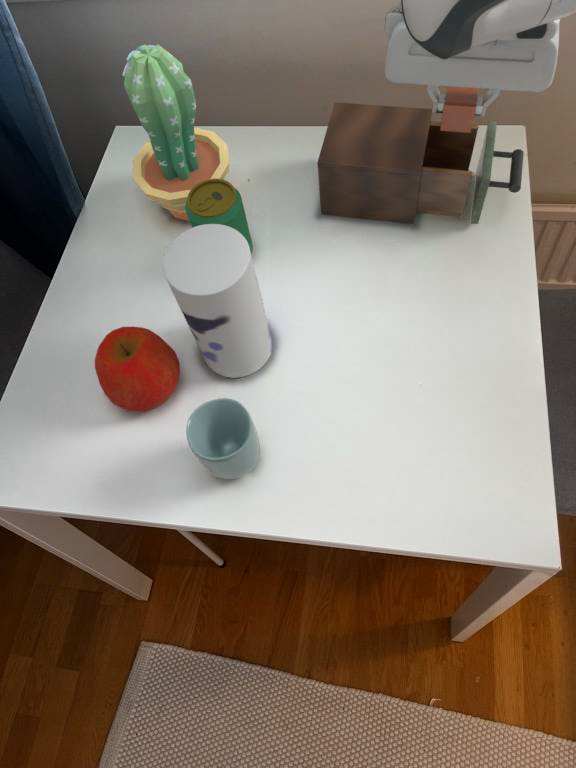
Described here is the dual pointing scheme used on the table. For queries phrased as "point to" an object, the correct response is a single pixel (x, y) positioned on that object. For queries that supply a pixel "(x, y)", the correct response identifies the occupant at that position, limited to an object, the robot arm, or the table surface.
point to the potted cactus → (170, 130)
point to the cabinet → (373, 162)
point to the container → (220, 298)
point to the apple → (136, 368)
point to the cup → (223, 438)
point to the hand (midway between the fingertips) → (459, 111)
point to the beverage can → (217, 206)
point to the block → (459, 109)
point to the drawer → (461, 171)
